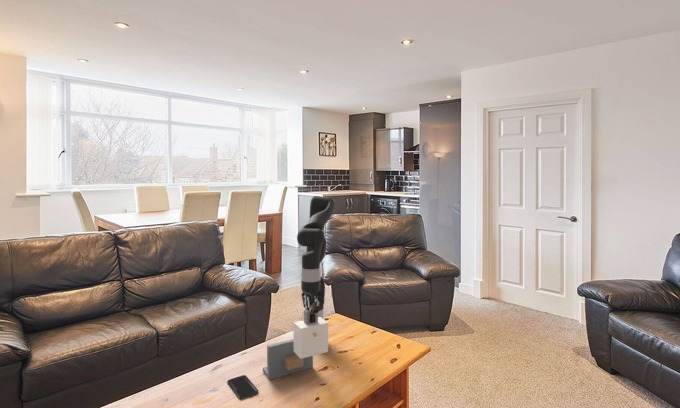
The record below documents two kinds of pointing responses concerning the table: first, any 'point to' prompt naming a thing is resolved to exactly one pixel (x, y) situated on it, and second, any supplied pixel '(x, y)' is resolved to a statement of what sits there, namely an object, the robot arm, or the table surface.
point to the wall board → (284, 360)
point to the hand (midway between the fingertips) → (310, 320)
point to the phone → (242, 387)
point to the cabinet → (310, 336)
